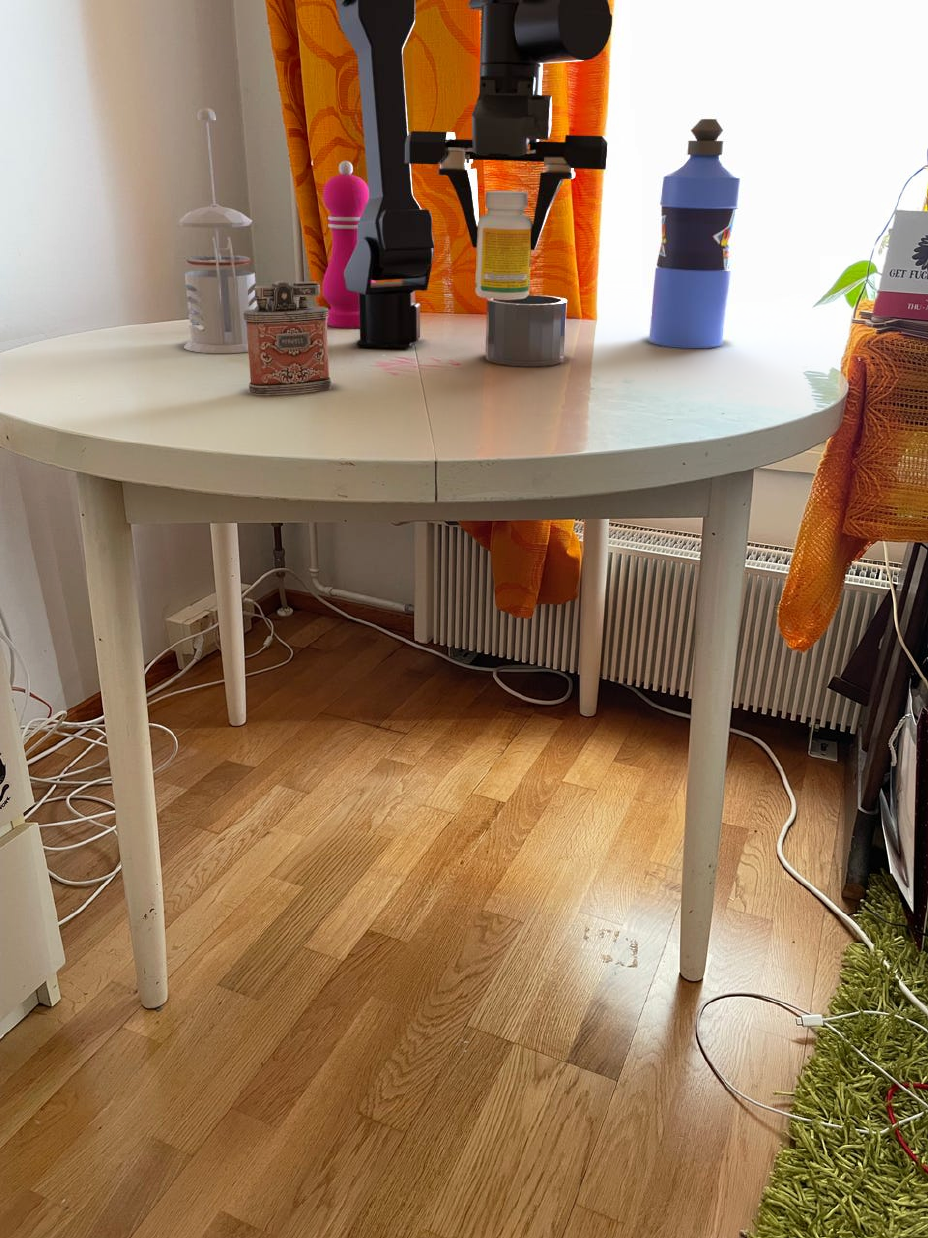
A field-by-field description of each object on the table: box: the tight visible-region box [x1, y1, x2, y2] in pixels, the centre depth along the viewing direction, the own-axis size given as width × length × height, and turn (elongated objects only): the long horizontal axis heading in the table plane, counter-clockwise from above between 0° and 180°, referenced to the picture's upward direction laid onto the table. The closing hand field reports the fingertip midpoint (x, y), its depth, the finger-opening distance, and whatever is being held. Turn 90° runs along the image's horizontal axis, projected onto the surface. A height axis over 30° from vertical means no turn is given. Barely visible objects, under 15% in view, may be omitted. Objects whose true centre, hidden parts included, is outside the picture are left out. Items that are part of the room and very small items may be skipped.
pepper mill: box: [321, 160, 377, 329], centre depth 129 cm, size 7×7×20 cm
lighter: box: [243, 280, 332, 396], centre depth 93 cm, size 8×3×10 cm, turn 117°
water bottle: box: [648, 118, 744, 349], centre depth 119 cm, size 9×9×25 cm
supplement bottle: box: [474, 190, 533, 300], centre depth 96 cm, size 5×5×10 cm
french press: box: [177, 107, 258, 354], centre depth 111 cm, size 10×12×25 cm
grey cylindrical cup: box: [485, 294, 568, 368], centre depth 111 cm, size 9×9×6 cm
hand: (503, 248), depth 97 cm, fingers closed on supplement bottle, 5 cm apart
